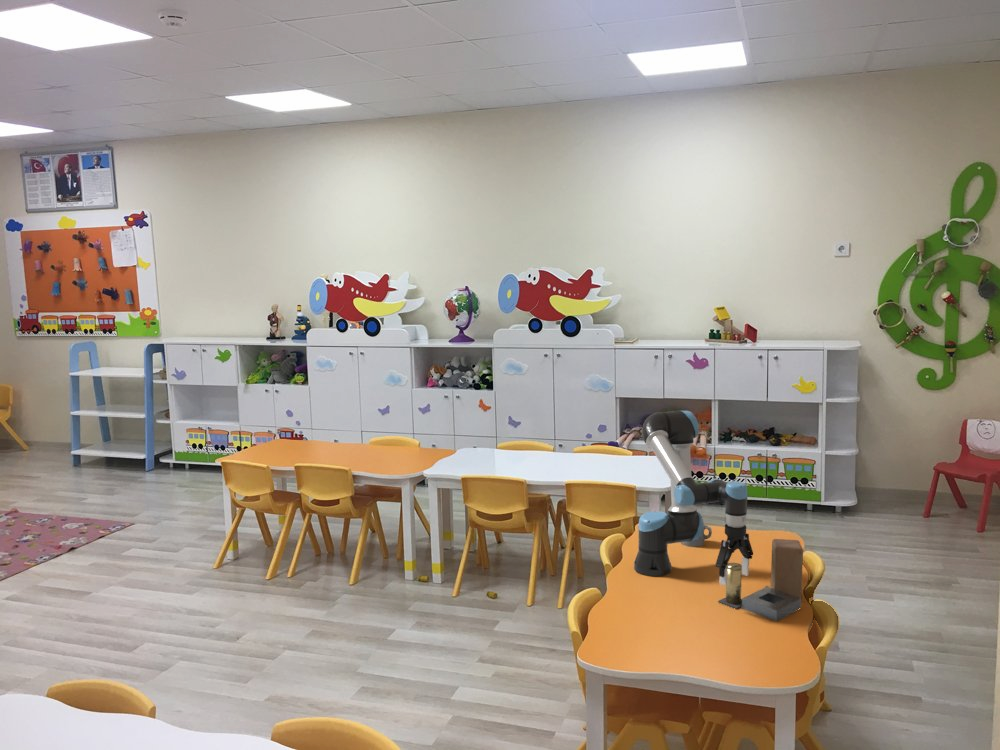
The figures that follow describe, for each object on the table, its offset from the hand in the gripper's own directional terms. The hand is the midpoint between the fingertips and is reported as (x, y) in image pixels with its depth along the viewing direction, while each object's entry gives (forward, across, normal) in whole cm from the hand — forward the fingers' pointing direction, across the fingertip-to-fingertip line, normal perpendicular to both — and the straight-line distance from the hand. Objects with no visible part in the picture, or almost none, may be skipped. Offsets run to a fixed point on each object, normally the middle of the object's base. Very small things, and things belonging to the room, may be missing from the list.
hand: (734, 579), depth 301 cm
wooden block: (+9, +22, -8) cm, 25 cm away
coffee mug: (+9, +41, +48) cm, 64 cm away
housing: (+9, +6, -12) cm, 16 cm away
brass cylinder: (+8, 0, 0) cm, 8 cm away
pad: (+9, 0, 0) cm, 9 cm away
